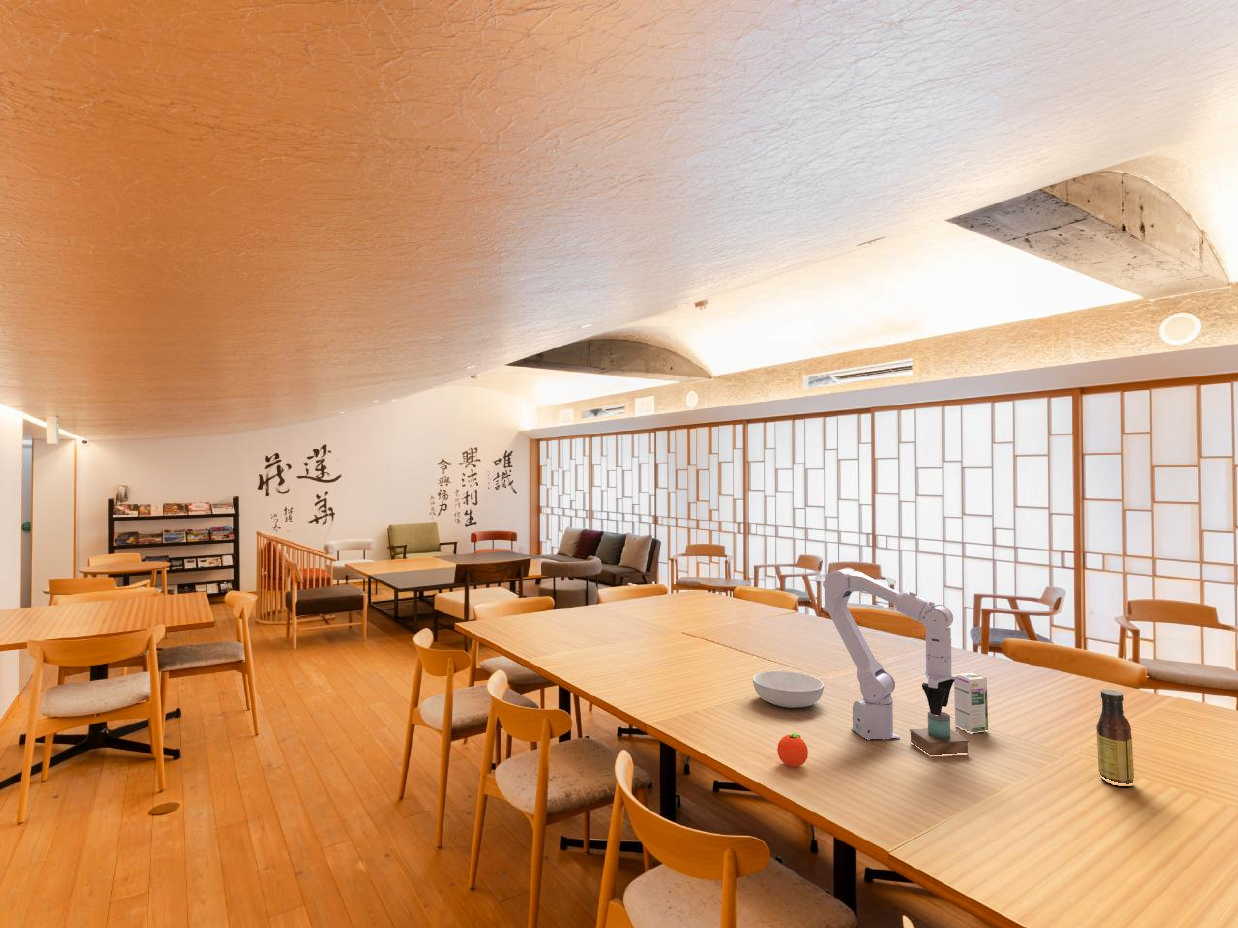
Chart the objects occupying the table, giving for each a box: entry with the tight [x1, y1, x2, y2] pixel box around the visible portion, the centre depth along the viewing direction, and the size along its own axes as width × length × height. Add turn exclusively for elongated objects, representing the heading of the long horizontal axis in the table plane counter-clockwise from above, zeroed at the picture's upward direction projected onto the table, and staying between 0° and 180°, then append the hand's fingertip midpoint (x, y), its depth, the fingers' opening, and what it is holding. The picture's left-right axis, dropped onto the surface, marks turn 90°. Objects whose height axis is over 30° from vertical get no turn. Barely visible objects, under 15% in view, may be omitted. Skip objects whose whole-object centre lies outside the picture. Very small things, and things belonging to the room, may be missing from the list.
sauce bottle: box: [1096, 689, 1135, 784], centre depth 141 cm, size 7×6×20 cm
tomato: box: [776, 733, 809, 768], centre depth 148 cm, size 8×7×7 cm
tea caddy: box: [927, 711, 951, 739], centre depth 157 cm, size 5×5×5 cm
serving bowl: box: [752, 670, 825, 709], centre depth 191 cm, size 21×21×7 cm
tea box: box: [909, 727, 970, 755], centre depth 157 cm, size 10×8×4 cm
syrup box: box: [953, 672, 989, 732], centre depth 171 cm, size 6×6×14 cm
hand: (938, 709), depth 158 cm, fingers open, 7 cm apart
